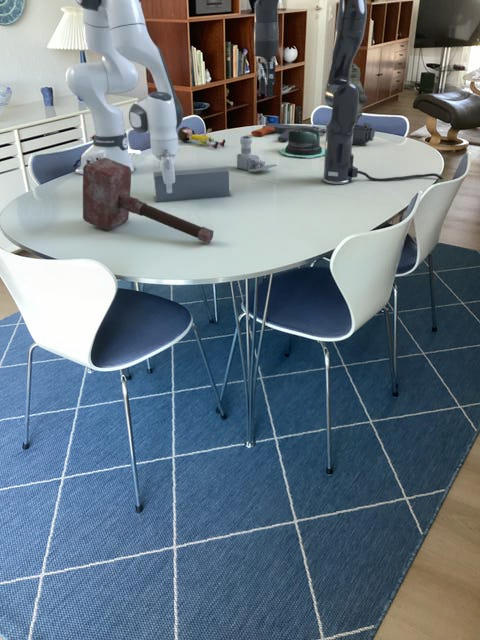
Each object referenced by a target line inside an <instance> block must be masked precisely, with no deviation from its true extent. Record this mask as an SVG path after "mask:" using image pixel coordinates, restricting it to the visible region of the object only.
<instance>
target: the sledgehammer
mask: <svg viewBox="0 0 480 640" xmlns="http://www.w3.org/2000/svg"><path fill="white" fill-rule="evenodd" d="M131 186H132V172H131V169H130V167H129V166H126V165H123V164H121V163H118V162H116V161H113V160H111V159H108V158H102V159H100V160H97V161H94V162H92V163H89V164H86V165H85V166H84V167H83V174H82V219H83V220H84V222H86V223H88V224H91V225H93V226H95V227H97V228H100V229H102V230H105V231H106V232H109V231H112V230H113V229H115V228H117V227H120V226H121V225H123V224H125V223H127V222H128V221H129V216H130V213H131V214H136V215H138V216H141V217H145V218H148V219H150V220H152V221H155V222H156V223H160V224H161V225H164V226H167V227H169V228H172V229H174V230H177V231H179V232H182V233H184V234H186V235H189V236H191V237H194V238H196V239H197V240H198V241H200V242H203V243H206V244H210V243H211V242H212V240H213V238H214V230H213V229H210V228H208V227H206V226H200V225H198V224H195V223H193V222H190V221H187V220H185V219H183V218H181V217H178V216H176V215H173V214H171V213H168V212H166V211H163V210H161V209H159V208H156V207H153V206H152V205H149V204H147V203H146V202H143V201H141V200H139V199H138V198H135V197H133V196H131V190H132V189H131V188H132V187H131Z"/></svg>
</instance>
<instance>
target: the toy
mask: <svg viewBox="0 0 480 640" xmlns="http://www.w3.org/2000/svg"><path fill="white" fill-rule="evenodd" d="M357 124H358V123H357ZM357 124H355V125H354V129H353V140H352V145H358V146H359V145H360V146H366V144H367V143H369V142H373V140H374V138H375V133H376V129H375V127H374V126H372V123H370V122H363V124H358V125H357Z"/></svg>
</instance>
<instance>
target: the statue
mask: <svg viewBox="0 0 480 640" xmlns="http://www.w3.org/2000/svg"><path fill="white" fill-rule="evenodd" d="M349 82H350V83H353V84H354V85H355V86H356V87H357V89H358V92H359V104H358V112H357V120H356V123H355V124H357V125H359V124H358V123H359V121H360V118H361V117H362V116H363V108H364V104H365V103H367V102H368V96H367V95H366V94H365V91H364V86H363V84H362V82H361V68H360V67H359V66H358V65H357V64H356V63H352V66H351V71H350V80H349Z"/></svg>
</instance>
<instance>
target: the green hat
mask: <svg viewBox="0 0 480 640" xmlns="http://www.w3.org/2000/svg"><path fill="white" fill-rule="evenodd" d="M316 129H317V128H316ZM316 129H311V128H298V129H294V130H291V131H289V139H288V140H287V142H288V143H287V145H286V146H285V147H283V148H281V149H280V150H279V153H280V154H282V155H285V156H289V157H296V158H297V157H298V158H307V159H309V158H310V159H311V158H313V159H314V158H317V157H323V156H325V148H322V146H321V144H320V142H321V136H320V135H321V133H320V132H319V131H318V130H319V129H318V130H316Z"/></svg>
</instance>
